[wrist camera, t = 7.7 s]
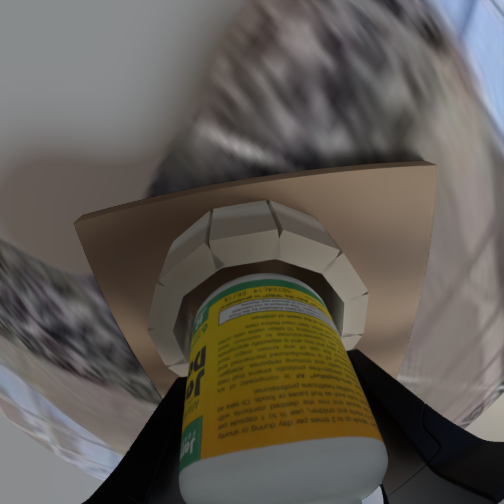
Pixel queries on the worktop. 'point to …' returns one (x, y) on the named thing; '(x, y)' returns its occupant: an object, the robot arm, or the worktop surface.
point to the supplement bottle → (274, 402)
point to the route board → (269, 255)
